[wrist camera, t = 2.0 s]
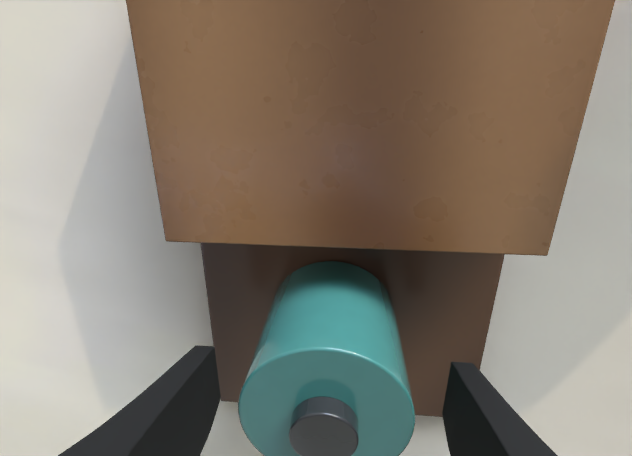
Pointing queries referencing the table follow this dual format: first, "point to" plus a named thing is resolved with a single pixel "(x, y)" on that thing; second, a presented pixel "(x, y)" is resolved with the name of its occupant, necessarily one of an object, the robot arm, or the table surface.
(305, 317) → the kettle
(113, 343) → the table surface
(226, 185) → the tier stand
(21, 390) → the table surface
